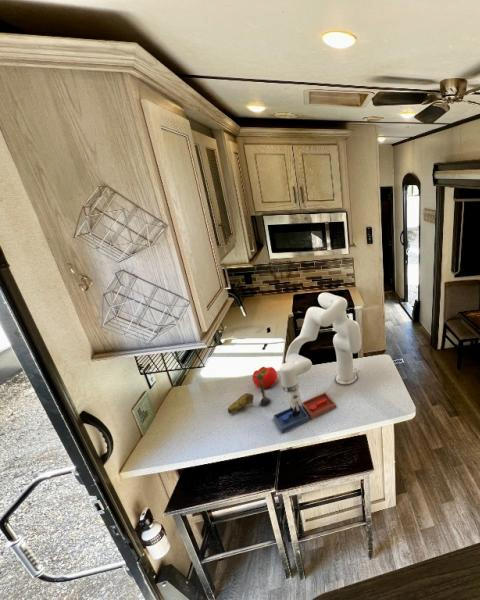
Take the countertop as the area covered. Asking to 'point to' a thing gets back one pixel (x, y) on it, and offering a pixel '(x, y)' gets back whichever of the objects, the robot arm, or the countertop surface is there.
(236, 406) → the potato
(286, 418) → the blue spoon
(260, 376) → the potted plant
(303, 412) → the blue tray
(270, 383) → the tomato
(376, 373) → the countertop surface
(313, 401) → the red tray
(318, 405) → the red spoon
